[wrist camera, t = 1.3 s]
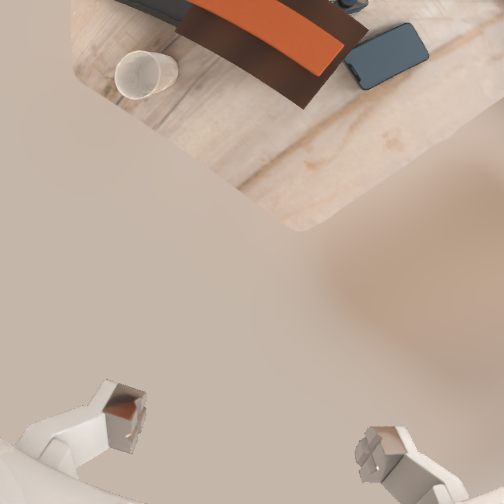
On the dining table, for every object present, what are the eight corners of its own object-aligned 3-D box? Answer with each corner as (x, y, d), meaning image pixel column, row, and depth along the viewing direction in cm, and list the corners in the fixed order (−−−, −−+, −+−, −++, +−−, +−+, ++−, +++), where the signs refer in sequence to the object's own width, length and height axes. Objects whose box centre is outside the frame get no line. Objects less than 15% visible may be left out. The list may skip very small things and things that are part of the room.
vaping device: (327, 6, 38) (337, -10, 28) (355, -2, 36) (372, -18, 26) (333, 19, 39) (345, 6, 29) (362, 11, 37) (380, -2, 28)
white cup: (180, 48, 45) (158, 46, 36) (183, 89, 49) (162, 95, 41) (140, 55, 46) (112, 56, 37) (143, 95, 50) (117, 103, 42)
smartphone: (432, 58, 39) (364, 93, 44) (428, 58, 40) (361, 92, 46) (410, 20, 36) (339, 54, 41) (406, 21, 37) (337, 55, 43)
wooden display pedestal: (227, 46, 44) (174, 31, 22) (261, 1, 39) (235, -50, 17) (297, 90, 47) (303, 109, 26) (332, 46, 42) (369, 30, 21)
